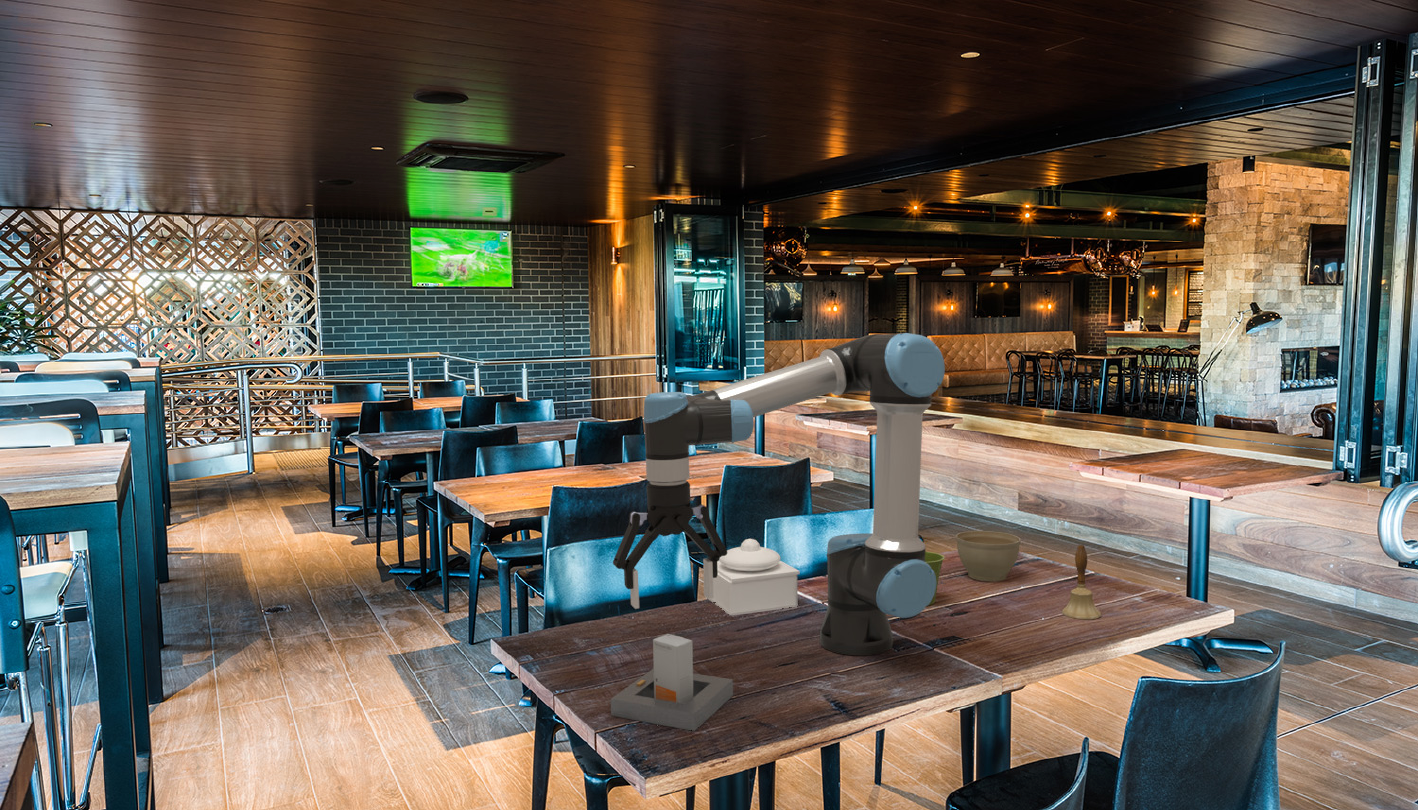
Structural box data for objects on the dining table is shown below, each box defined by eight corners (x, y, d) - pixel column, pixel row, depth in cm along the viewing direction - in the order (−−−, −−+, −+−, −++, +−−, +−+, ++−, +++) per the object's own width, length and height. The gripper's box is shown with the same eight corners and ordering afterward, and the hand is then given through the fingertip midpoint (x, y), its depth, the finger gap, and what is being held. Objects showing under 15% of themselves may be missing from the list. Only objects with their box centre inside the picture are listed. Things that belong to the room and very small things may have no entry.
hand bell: (1061, 617, 206) (1062, 548, 205) (1062, 607, 213) (1063, 540, 212) (1101, 621, 203) (1102, 550, 201) (1100, 610, 210) (1101, 542, 209)
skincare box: (653, 704, 162) (651, 639, 161) (669, 697, 165) (668, 632, 164) (678, 713, 158) (676, 646, 157) (694, 705, 161) (693, 639, 160)
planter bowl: (1010, 589, 229) (1011, 546, 228) (947, 580, 238) (947, 539, 237) (1027, 574, 242) (1027, 534, 241) (966, 567, 251) (966, 528, 250)
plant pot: (951, 599, 221) (951, 553, 221) (935, 612, 211) (935, 564, 211) (904, 592, 228) (904, 548, 227) (886, 605, 218) (886, 558, 217)
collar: (733, 695, 165) (732, 677, 165) (694, 731, 151) (694, 711, 151) (655, 682, 172) (654, 665, 172) (611, 715, 158) (610, 697, 157)
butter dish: (704, 596, 228) (702, 534, 227) (769, 588, 234) (768, 527, 233) (730, 616, 212) (728, 549, 211) (800, 607, 218) (799, 541, 217)
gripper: (727, 472, 166) (730, 586, 168) (592, 484, 158) (597, 604, 159) (742, 478, 159) (746, 597, 161) (602, 491, 151) (608, 617, 152)
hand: (672, 601), depth 160 cm, fingers open, 13 cm apart
